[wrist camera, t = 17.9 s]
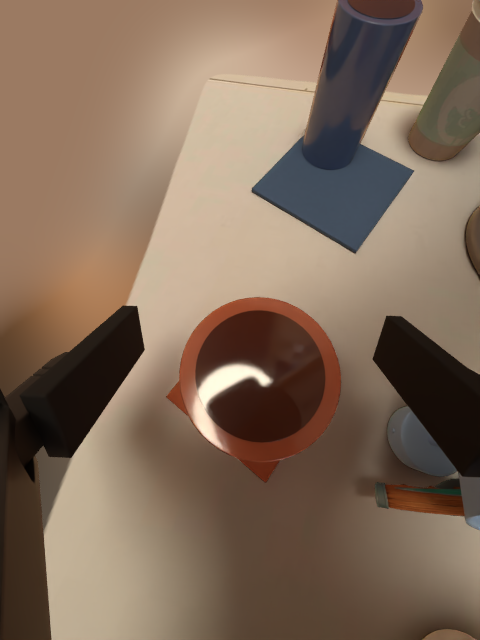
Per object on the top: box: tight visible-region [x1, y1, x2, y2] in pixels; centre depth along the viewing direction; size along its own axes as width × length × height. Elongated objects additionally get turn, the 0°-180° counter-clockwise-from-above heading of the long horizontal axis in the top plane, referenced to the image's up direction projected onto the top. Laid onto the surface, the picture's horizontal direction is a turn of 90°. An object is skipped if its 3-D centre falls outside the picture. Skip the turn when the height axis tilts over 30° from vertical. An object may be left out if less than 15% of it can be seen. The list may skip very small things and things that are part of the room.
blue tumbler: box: [302, 0, 423, 170], centre depth 23 cm, size 6×6×11 cm
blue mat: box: [252, 136, 414, 253], centre depth 27 cm, size 13×13×1 cm
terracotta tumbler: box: [179, 297, 341, 462], centre depth 14 cm, size 6×6×11 cm
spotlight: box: [387, 406, 480, 530], centre depth 14 cm, size 5×10×7 cm
